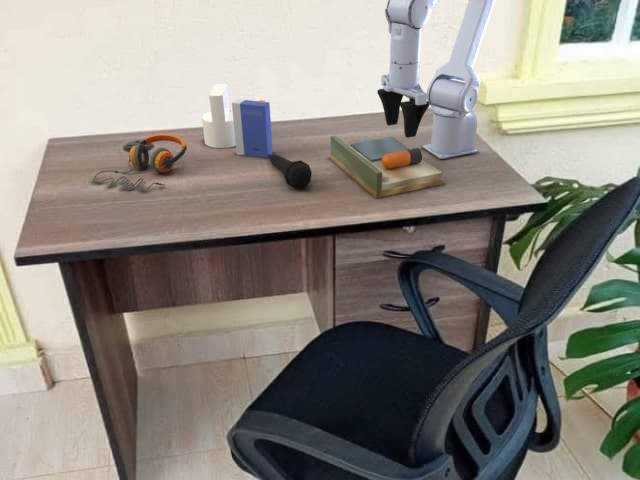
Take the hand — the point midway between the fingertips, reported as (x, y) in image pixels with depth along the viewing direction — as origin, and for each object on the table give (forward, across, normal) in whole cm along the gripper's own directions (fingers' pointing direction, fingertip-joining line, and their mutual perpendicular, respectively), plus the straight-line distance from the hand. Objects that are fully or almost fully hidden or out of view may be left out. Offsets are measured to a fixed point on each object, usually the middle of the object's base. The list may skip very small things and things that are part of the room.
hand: (400, 130), depth 134 cm
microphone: (+10, -10, -21) cm, 25 cm away
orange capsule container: (+6, +3, 0) cm, 7 cm away
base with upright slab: (+10, -35, -28) cm, 45 cm away
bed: (+9, -2, -2) cm, 10 cm away
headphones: (+10, -24, -48) cm, 54 cm away
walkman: (+10, -24, -24) cm, 35 cm away
